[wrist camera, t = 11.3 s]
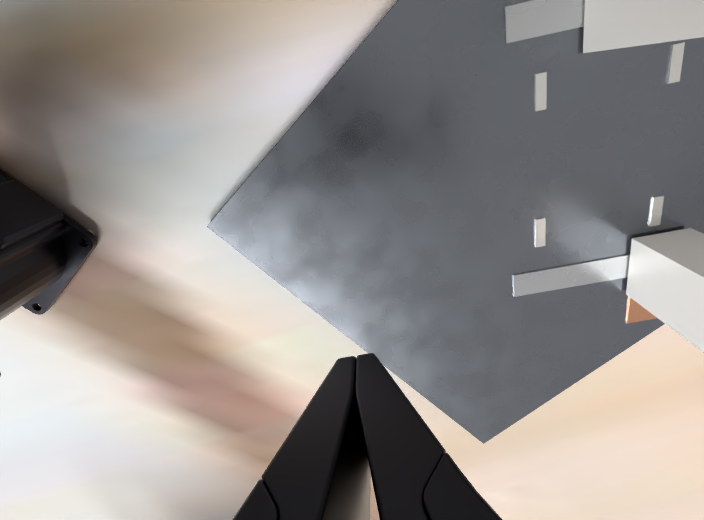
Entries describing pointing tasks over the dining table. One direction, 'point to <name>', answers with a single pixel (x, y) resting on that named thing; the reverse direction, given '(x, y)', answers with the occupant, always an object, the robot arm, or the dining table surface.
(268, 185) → the switch panel
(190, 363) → the dining table surface
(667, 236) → the terracotta slider
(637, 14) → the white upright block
